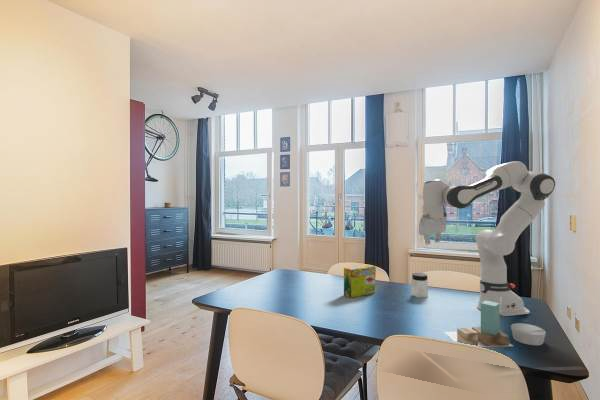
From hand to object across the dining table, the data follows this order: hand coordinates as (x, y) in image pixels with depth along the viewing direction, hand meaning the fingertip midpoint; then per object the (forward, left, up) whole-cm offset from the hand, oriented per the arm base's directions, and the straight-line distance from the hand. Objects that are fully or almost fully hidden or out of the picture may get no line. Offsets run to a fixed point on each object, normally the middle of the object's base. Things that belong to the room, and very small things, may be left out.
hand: (432, 243), depth 161 cm
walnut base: (-9, +31, -33) cm, 46 cm away
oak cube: (+1, +33, -33) cm, 47 cm away
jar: (-6, -30, -34) cm, 46 cm away
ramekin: (-24, +31, -34) cm, 52 cm away
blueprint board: (-5, +29, -34) cm, 45 cm away
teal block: (-9, +31, -30) cm, 44 cm away
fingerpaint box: (+27, -35, -34) cm, 56 cm away
